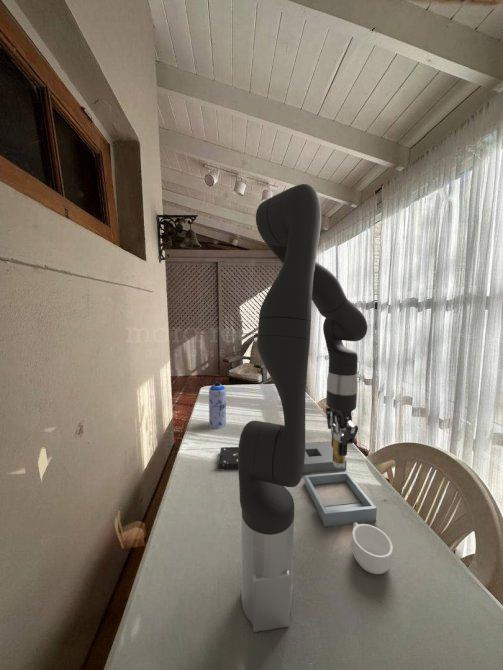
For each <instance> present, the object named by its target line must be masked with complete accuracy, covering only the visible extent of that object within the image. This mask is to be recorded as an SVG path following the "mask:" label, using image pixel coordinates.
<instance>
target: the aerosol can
mask: <svg viewBox="0 0 503 670" xmlns="http://www.w3.org/2000/svg"><path fill="white" fill-rule="evenodd" d="M208 389H209V390H208V412H209V413H208V415H209V416H208V420H209V423H208V425H209V426H208V427H209V428H211V429H215V430H221V429H223V428H225V427H226V426H227V411H226V410H227V397H226V396H227V395H226V394H227V393H226V392H227V390H226V387H225V386H224V385H222V384H221V382H220V381H219V380H218V381H215V382H214V384H213V385H211V386H210V387H209V388H208Z"/></svg>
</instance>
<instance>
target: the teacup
mask: <svg viewBox="0 0 503 670" xmlns="http://www.w3.org/2000/svg"><path fill="white" fill-rule="evenodd" d="M352 527H353V528H352V533H351V550H352V553H353V556H354V558H355V560H356V562H357V564H358V565H359V566H360V567H361V568H362V569H363V570H365V571H366V572H367V573H370V574H373V575H381V574H384V573H386V572H387V571H388V570H389V569H390V567H391V563H392V557H393V553H394V547H393V543H392V540H391V539H390V537H389V536H388V535H387V534H386V533H385V532H384V531H383V530H381V529H379V528H378V527H376V526H373V525H372V524H369V523H368V524H367V523H354V524H352Z"/></svg>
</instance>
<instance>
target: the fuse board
mask: <svg viewBox="0 0 503 670" xmlns="http://www.w3.org/2000/svg"><path fill="white" fill-rule="evenodd" d="M332 459H333V447H332V441H324V442H323V441H322V442H310V443H307V442H306V443H305V461H304V470H303V474H308V473H309V474H311V473H321V472H335V471H343V470H344V471H345V470H347V462H348V461H347V459H346V458H345V467H344V468H343V469H337V468H335V467H334V466H333V465H332Z"/></svg>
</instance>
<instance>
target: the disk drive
mask: <svg viewBox="0 0 503 670" xmlns="http://www.w3.org/2000/svg"><path fill="white" fill-rule="evenodd" d="M219 469H224V471H226V470H238V446H234V447H233V446H229V447H228V446H225V447H220V452H219V460H218V470H219Z"/></svg>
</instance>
